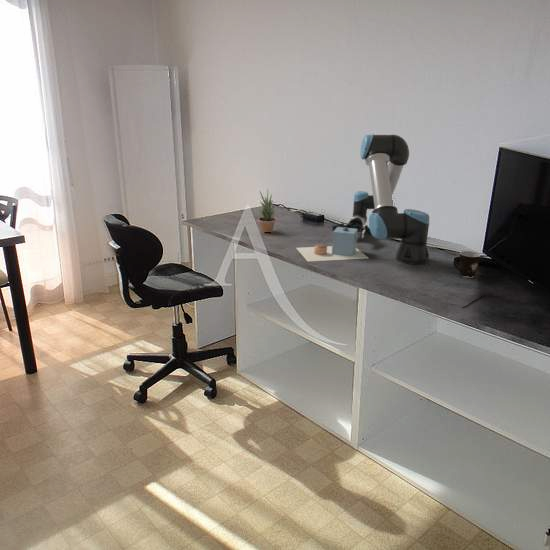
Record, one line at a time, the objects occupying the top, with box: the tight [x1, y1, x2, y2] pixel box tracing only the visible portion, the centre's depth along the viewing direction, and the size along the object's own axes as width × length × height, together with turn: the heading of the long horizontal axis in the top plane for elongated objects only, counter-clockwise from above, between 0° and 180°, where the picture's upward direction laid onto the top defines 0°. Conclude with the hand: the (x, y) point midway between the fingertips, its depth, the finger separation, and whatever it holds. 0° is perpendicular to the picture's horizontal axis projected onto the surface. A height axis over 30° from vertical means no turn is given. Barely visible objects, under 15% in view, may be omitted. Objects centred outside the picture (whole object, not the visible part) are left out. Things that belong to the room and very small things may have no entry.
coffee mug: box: [453, 250, 482, 277], centre depth 224 cm, size 12×9×10 cm
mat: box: [295, 245, 369, 262], centre depth 253 cm, size 22×30×1 cm
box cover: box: [331, 227, 358, 256], centre depth 252 cm, size 10×10×12 cm
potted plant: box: [257, 188, 276, 233], centre depth 285 cm, size 10×10×25 cm
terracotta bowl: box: [314, 244, 327, 255], centre depth 251 cm, size 6×6×4 cm
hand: (349, 234), depth 261 cm, fingers open, 13 cm apart
